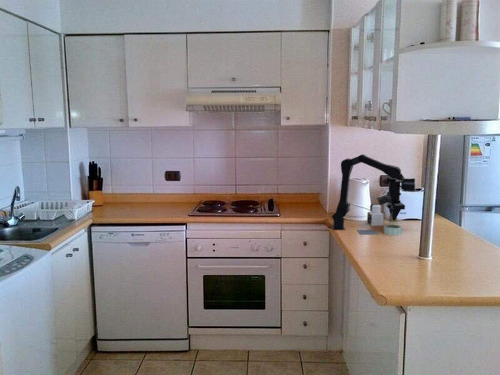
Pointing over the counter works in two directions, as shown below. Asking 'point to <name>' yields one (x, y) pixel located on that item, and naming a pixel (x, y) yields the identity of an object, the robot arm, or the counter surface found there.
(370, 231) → the mat
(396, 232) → the bowl
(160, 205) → the counter surface
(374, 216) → the medicine bottle
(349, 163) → the robot arm
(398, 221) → the lid
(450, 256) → the counter surface
